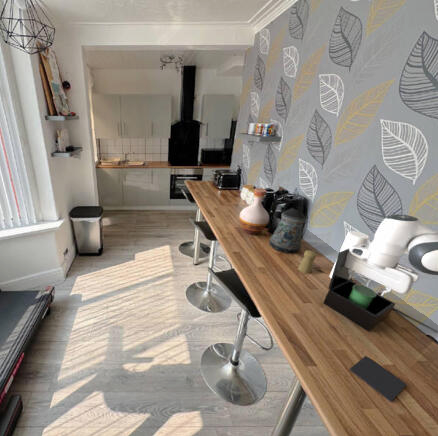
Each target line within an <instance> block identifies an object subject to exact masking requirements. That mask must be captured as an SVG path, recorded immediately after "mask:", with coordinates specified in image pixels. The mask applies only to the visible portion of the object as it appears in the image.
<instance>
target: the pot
mask: <svg viewBox="0 0 438 436" xmlns="http://www.w3.org/2000/svg"><path fill="white" fill-rule="evenodd" d="M376 294H377V293H376V291H374V290H373V289H371V288H370V287H368V286H365V285H362V284H358V285H353V287H352V292H351V294H350V296H349V298H348V300H349V301H351V302H353V303H355V304H356V305H358V306H360V307H362V308H363V309H365V310H367V309H368V307H369V306H370V304H371V302H372V300H373V298H375V297H376Z"/></svg>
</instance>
